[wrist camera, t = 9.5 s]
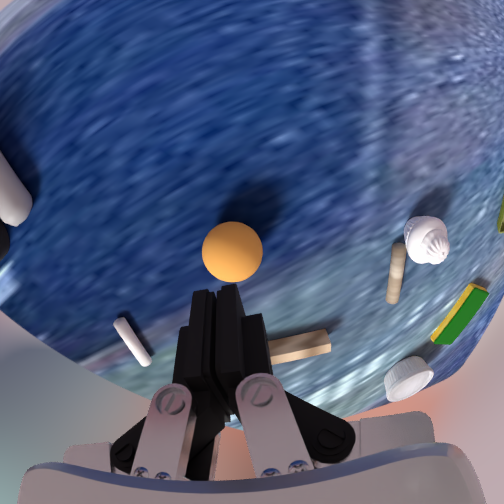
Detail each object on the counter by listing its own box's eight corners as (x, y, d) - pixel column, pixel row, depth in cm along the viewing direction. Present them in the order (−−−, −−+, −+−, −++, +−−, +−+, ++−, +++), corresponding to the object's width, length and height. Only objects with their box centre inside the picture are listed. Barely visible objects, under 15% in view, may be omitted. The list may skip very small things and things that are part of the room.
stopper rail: (325, 328, 39) (330, 343, 37) (325, 337, 40) (330, 351, 38) (206, 351, 40) (205, 367, 37) (210, 359, 41) (209, 374, 38)
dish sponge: (483, 286, 40) (489, 293, 38) (446, 337, 47) (451, 345, 45) (468, 280, 39) (475, 288, 37) (428, 335, 45) (433, 344, 43)
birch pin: (405, 242, 32) (397, 294, 37) (390, 242, 33) (385, 294, 38) (408, 250, 31) (399, 303, 35) (393, 250, 31) (386, 304, 36)
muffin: (386, 241, 32) (414, 272, 26) (408, 199, 30) (442, 224, 24) (416, 253, 34) (444, 282, 28) (437, 215, 31) (469, 240, 25)
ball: (264, 293, 27) (266, 251, 32) (257, 247, 23) (259, 207, 28) (205, 295, 28) (214, 255, 32) (189, 251, 24) (202, 212, 28)
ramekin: (426, 364, 51) (435, 381, 46) (386, 389, 53) (393, 406, 49) (420, 344, 46) (432, 363, 41) (374, 373, 48) (382, 393, 44)
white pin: (113, 328, 34) (141, 367, 38) (125, 324, 34) (152, 364, 39) (114, 319, 35) (140, 358, 40) (125, 315, 36) (151, 355, 40)
